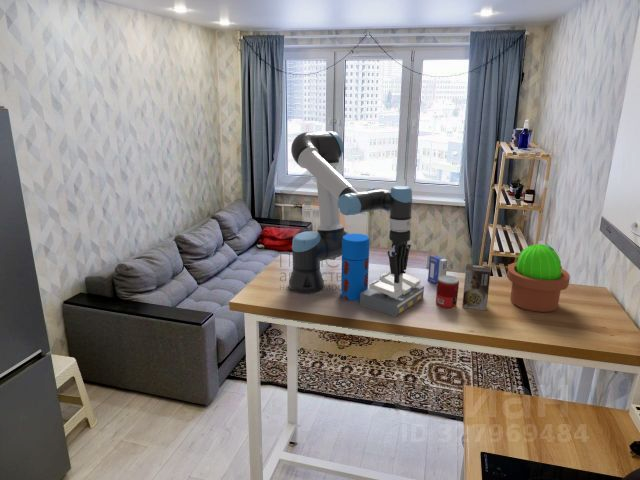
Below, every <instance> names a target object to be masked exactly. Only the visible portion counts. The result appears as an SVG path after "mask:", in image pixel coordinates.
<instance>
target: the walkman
mask: <svg viewBox="0 0 640 480" xmlns="http://www.w3.org/2000/svg"><path fill="white" fill-rule="evenodd" d="M428 262H429V263H428V273H427V275H428V276H427V281H428V282H430V283H431V284H435V285H436V284H437V282H438V277H439V276H443V275H447V270H448V268H447V266H448V259H446V258H443V257H441V256H438V255H436V254H432V255H430V256H429V261H428Z"/></svg>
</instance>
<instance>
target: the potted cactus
mask: <svg viewBox="0 0 640 480" xmlns="http://www.w3.org/2000/svg"><path fill="white" fill-rule="evenodd" d="M557 252H558V251H556V250H555V249H554V248H553V247H552V246H550V245H549V244H547V243H545V244H542V243H541V242H540V243H537V244H535V243H534V244H530V245H528V246H526V247H525V248H524V249H523V250H521V251H520V252H519V254H518V255H517V261H515V262H512V263H510V264H509V265H508V267H507V274H506V276H507V279H508V280H509V281H510V282H511V284H512V285H511V290H510V296H509V297H510V298H509V299H510V301H511V303H512V304H513V305H515V306H516V307H518V308H521V309H523V310H527V311H530V312H540V313H549V312H554V311H555V310H557V309H558V307H559V301H560V296H561V291H564V290H566V289H567V288H568V287H569V285H570V278H571V275H570V274H569V272H568V271H566V270H565V269H563V266H562V264H561V262H562V261H561V260H560V256H559V254H558V253H557Z"/></svg>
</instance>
